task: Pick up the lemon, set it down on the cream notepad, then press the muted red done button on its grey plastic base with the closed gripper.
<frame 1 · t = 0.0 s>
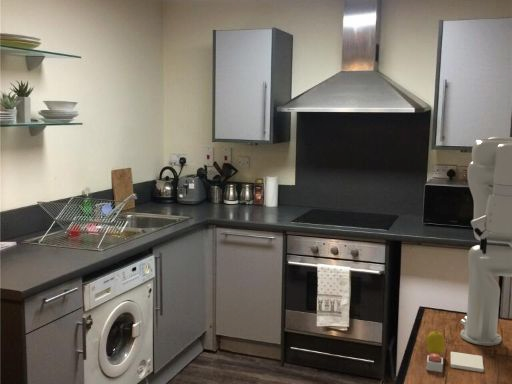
hand: (503, 254, 150), 37 cm above the table, tool pointing down, fingers open, 9 cm apart
done button: (435, 358, 165), point 3 cm above the table, slide at 0.0 cm
button base: (434, 367, 165), on the table
paper pad: (466, 363, 168), on the table
lemon: (434, 355, 173), on the table
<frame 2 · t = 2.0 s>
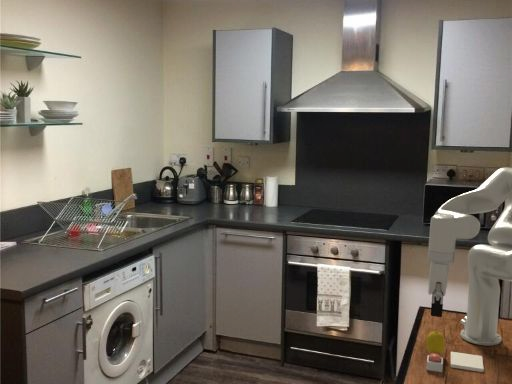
hand: (436, 310, 171), 14 cm above the table, tool pointing down, fingers open, 9 cm apart
nothing on the table moved.
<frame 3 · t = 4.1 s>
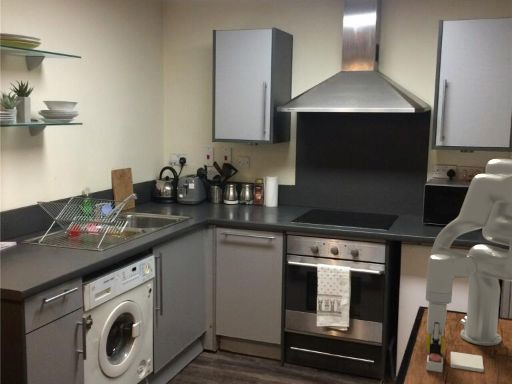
hand: (435, 351, 173), 1 cm above the table, tool pointing down, fingers closed on lemon, 5 cm apart
lemon: (434, 355, 173), on the table, touching gripper
everything else where it was.
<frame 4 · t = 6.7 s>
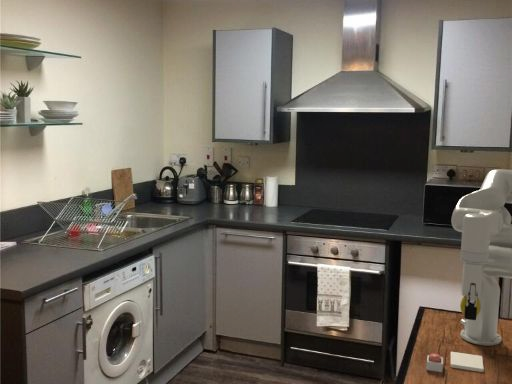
hand: (469, 314, 166), 15 cm above the table, tool pointing down, fingers closed on lemon, 5 cm apart
lemon: (469, 319, 166), point 14 cm above the table, touching gripper
everything else where it was.
when the fingers open (4 cm above the table, at t = 9.6 s): lemon drops 1 cm, resting on paper pad.
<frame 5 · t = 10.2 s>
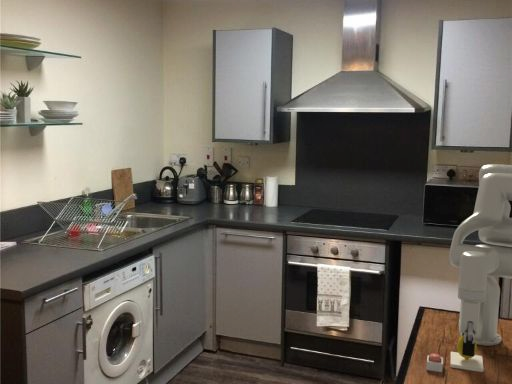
hand: (467, 348, 168), 5 cm above the table, tool pointing down, fingers open, 9 cm apart
lemon: (466, 360, 168), point 1 cm above the table, touching paper pad
everything else where it was.
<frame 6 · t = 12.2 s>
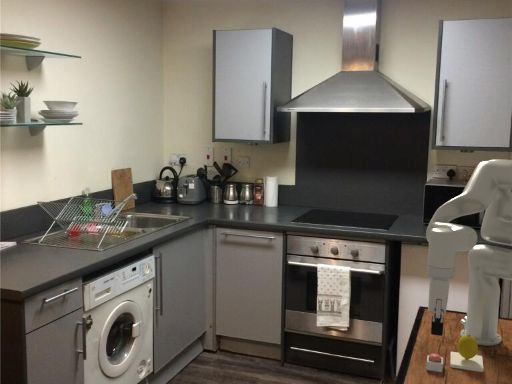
hand: (436, 331, 163), 11 cm above the table, tool pointing down, fingers open, 3 cm apart
nothing on the table moved.
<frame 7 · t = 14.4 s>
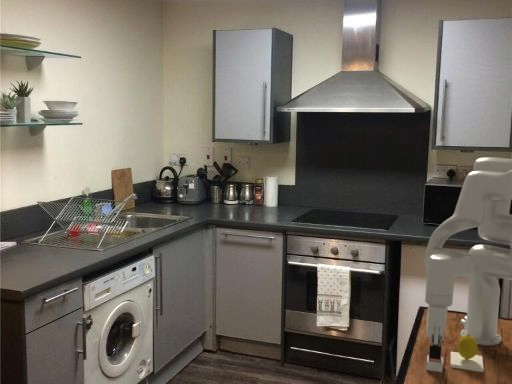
hand: (434, 357, 164), 3 cm above the table, tool pointing down, fingers closed
done button: (435, 360, 165), point 2 cm above the table, slide at 0.6 cm, touching gripper
everything else where it was.
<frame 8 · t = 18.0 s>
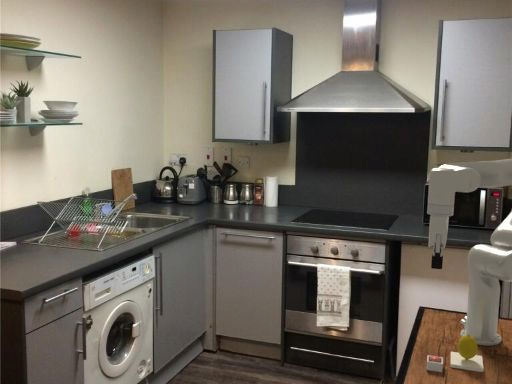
hand: (436, 268, 172), 27 cm above the table, tool pointing down, fingers closed
done button: (434, 360, 165), point 2 cm above the table, slide at 0.7 cm
everything else where it was.
at the end: lemon touching paper pad; lemon 0.1 cm from the paper pad (horizontally); done button slide at 0.7 cm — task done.
